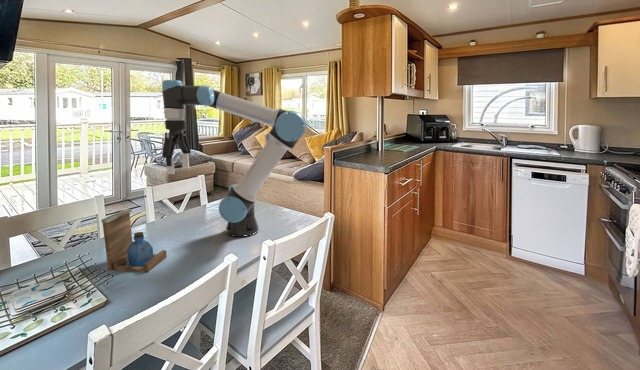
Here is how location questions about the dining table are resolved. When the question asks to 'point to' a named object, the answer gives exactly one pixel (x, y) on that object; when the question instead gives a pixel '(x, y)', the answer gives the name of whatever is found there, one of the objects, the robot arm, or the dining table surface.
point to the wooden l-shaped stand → (123, 243)
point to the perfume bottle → (139, 251)
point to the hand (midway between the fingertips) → (178, 171)
